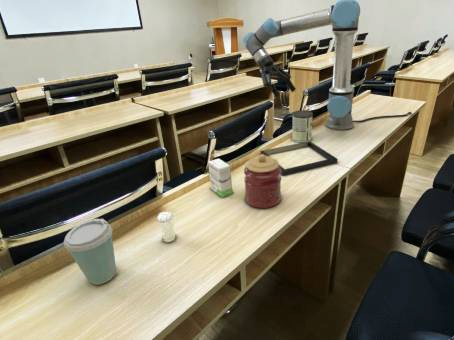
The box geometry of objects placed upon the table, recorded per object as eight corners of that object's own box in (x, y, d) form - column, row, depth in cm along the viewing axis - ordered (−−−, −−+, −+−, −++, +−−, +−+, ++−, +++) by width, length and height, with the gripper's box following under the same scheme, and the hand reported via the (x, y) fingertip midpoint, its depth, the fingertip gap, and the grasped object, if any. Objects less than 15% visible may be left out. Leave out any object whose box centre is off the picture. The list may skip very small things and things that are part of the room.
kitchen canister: (237, 199, 112) (234, 155, 104) (263, 186, 120) (262, 144, 112) (263, 213, 104) (262, 167, 95) (288, 198, 112) (289, 154, 103)
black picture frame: (309, 144, 155) (309, 141, 154) (337, 162, 136) (337, 158, 136) (260, 154, 146) (260, 150, 145) (282, 175, 127) (282, 171, 126)
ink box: (233, 193, 116) (231, 165, 110) (221, 197, 113) (219, 169, 107) (221, 184, 122) (218, 157, 116) (210, 188, 119) (207, 161, 113)
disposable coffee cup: (83, 298, 74) (63, 251, 67) (76, 271, 82) (58, 226, 75) (129, 278, 80) (114, 232, 73) (118, 254, 87) (105, 211, 81)
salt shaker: (156, 240, 93) (150, 212, 88) (172, 232, 96) (167, 205, 91) (163, 247, 90) (157, 219, 85) (180, 238, 93) (175, 211, 88)
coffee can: (291, 135, 167) (292, 110, 161) (311, 135, 166) (312, 110, 160) (291, 142, 158) (292, 116, 152) (311, 142, 157) (313, 116, 151)
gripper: (274, 62, 171) (296, 92, 169) (243, 68, 155) (266, 102, 153) (282, 52, 166) (304, 84, 164) (250, 58, 149) (275, 93, 147)
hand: (286, 93), depth 158 cm, fingers open, 13 cm apart
